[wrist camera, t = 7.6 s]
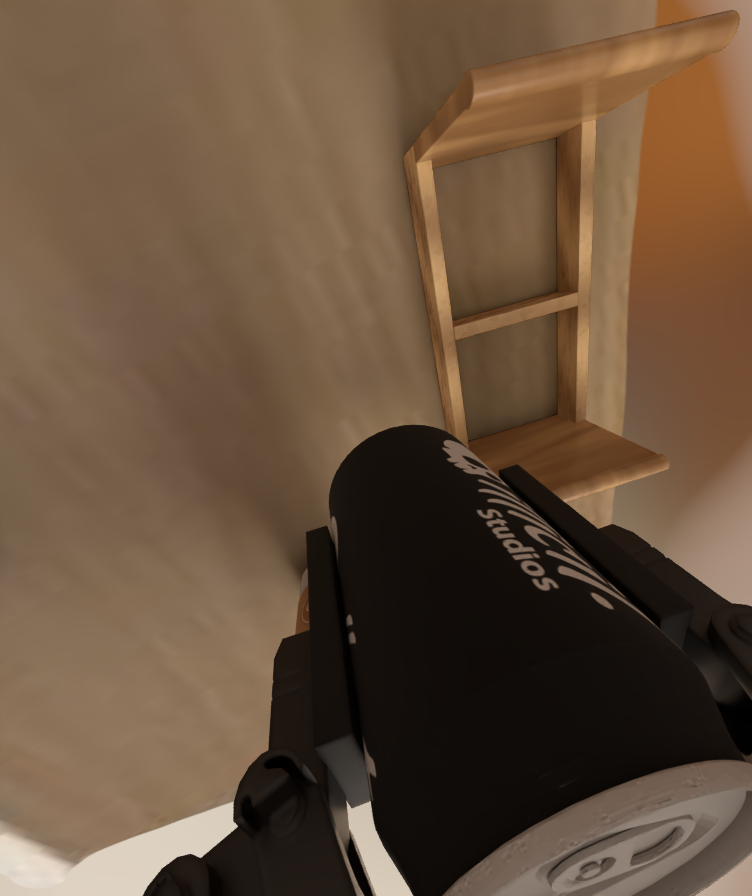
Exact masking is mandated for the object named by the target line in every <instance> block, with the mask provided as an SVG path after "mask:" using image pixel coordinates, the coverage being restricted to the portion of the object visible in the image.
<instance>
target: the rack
mask: <svg viewBox="0 0 752 896" xmlns="http://www.w3.org/2000/svg"><path fill="white" fill-rule="evenodd" d="M739 21H740V18H739V14H738V12H737V11H735V10H730V11H725V12H721V13H716V14H712V15H708V16H703V17H699V18H694V19H690V20H686V21H681V22H677V23H673V24H669V25H664V26H659V27H655V28H651V29H646V30H642V31H637V32H633V33H629V34H624V35H620V36H616V37H611V38H607V39H602V40H598V41H594V42H589V43H585V44H580V45H576V46H572V47H567V48H563V49H559V50H554V51H550V52H545V53H541V54H537V55H532V56H528V57H524V58H519V59H515V60H510V61H506V62H502V63H497V64H493V65H488V66H484V67H480V68H475V69H471V70H468V71H467V72H466V73H465V75H464V77H463V80H462V81H461V83H460V84H459V85H458V87H457V88H456V89H455V90H454V92H453V93H452V94H451V96H450V97H449V98H448V100H447V101H446V102H445V103H444V105H443V106H442V107H441V109H440V110H439V111H438V112H437V114H436V115H435V116H434V118H433V119H432V120H431V122H430V123H429V124H428V125H427V127H426V128H425V129H424V131H423V132H422V133H421V134H420V136H419V137H418V138H417V140H416V141H415V142H414V144H413V145H412V146H411V147H410V149H409V150H408V151H407V153H406V154H405V155H404V157H403V161H404V167H405V173H406V179H407V185H408V192H409V198H410V204H411V211H412V217H413V223H414V229H415V236H416V242H417V248H418V254H419V261H420V267H421V273H422V280H423V286H424V292H425V298H426V305H427V311H428V317H429V323H430V330H431V336H432V342H433V348H434V355H435V361H436V367H437V374H438V380H439V386H440V392H441V399H442V405H443V411H444V417H445V424H446V430H447V432H448V433H449V434H451V435H453V436H454V437H456V438H457V439H458V440H460V441H461V442H462V443H463V444H464V445H465V446H466V447H467V448H468V449H469V450H470V451H471V452H472V453H473V454H475V455H476V456H477V457H478V458H479V459H480V460H481V461H482V462H483V463H484V464H485V465H486V466H487V467H488V468H489V469H490V470H491V471H493V472H494V473H495V474H496V475H497V476H498V477H499V470H501V469H504V468H507V467H510V466H513V465H516V464H518V465H519V466H520V467H522V468H523V469H524V470H525V471H527V472H528V473H529V474H530V475H532V476H533V477H534V478H535V479H537V480H538V481H539V482H540V483H542V484H543V485H544V486H545V487H547V488H548V489H549V490H550V491H552V492H553V493H554V494H555V495H556V496H558V497H559V498H560V499H561V500H563V501H564V502H568V501H571V500H574V499H577V498H581V497H584V496H587V495H590V494H593V493H596V492H599V491H602V490H605V489H608V488H611V487H614V486H617V485H621V484H624V483H627V482H630V481H633V480H636V479H639V478H642V477H645V476H648V475H651V474H654V473H657V472H660V471H664V470H666V469H668V468H669V461H668V459H667V458H666V457H665V456H664V455H662V454H657V453H655V452H652V451H650V450H648V449H646V448H644V447H642V446H640V445H637V444H635V443H633V442H631V441H629V440H627V439H625V438H622V437H620V436H618V435H616V434H614V433H612V432H610V431H607V430H605V429H603V428H601V427H599V426H597V425H595V424H592V423H590V422H588V421H586V398H587V369H588V339H589V310H590V281H591V252H592V223H593V194H594V165H595V136H596V119H597V118H599V117H601V116H603V115H604V114H606V113H608V112H610V111H611V110H613V109H615V108H617V107H618V106H620V105H622V104H624V103H625V102H627V101H629V100H631V99H632V98H634V97H636V96H638V95H639V94H641V93H643V92H644V91H646V90H648V89H650V88H651V87H653V86H655V85H657V84H658V83H660V82H662V81H664V80H665V79H667V78H669V77H670V76H672V75H674V74H676V73H678V72H679V71H681V70H683V69H685V68H686V67H688V66H690V65H691V64H693V63H695V62H697V61H699V60H700V59H702V58H704V57H705V56H707V55H709V54H711V53H715V52H719V51H721V50H722V49H723V48H725V47H726V46H727V45H728V44H729V43H730V42H731V40H732V39H733V37H734V36H735V34H736V32H737V29H738V26H739ZM553 138H557V292H554V293H551V294H547V295H544V296H540V297H536V298H533V299H529V300H526V301H522V302H519V303H515V304H511V305H508V306H504V307H501V308H497V309H494V310H490V311H486V312H483V313H479V314H476V315H472V316H469V317H465V318H461V319H458V320H454V321H452V314H451V307H450V299H449V292H448V284H447V276H446V269H445V261H444V253H443V246H442V238H441V231H440V223H439V215H438V208H437V200H436V192H435V185H434V177H433V170H432V168H436V167H440V166H444V165H448V164H452V163H456V162H460V161H464V160H468V159H472V158H477V157H481V156H485V155H489V154H493V153H497V152H501V151H505V150H509V149H513V148H517V147H521V146H525V145H529V144H533V143H537V142H541V141H545V140H549V139H553ZM554 312H557V325H558V415H555V416H551V417H548V418H545V419H542V420H538V421H535V422H532V423H529V424H525V425H522V426H519V427H515V428H512V429H509V430H506V431H502V432H499V433H496V434H493V435H489V436H486V437H483V438H479V439H476V440H473V441H470V442H468V436H467V429H466V421H465V413H464V406H463V398H462V391H461V383H460V375H459V368H458V360H457V352H456V345H455V340H459V339H462V338H466V337H469V336H473V335H476V334H480V333H483V332H487V331H490V330H494V329H497V328H501V327H504V326H508V325H511V324H515V323H519V322H522V321H526V320H529V319H533V318H536V317H540V316H543V315H547V314H550V313H554Z"/></svg>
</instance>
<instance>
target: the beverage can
mask: <svg viewBox="0 0 752 896" xmlns="http://www.w3.org/2000/svg"><path fill="white" fill-rule="evenodd" d="M329 510H330V518H331V525H332V532H333V539H334V546H335V553H336V560H337V567H338V574H339V581H340V588H341V595H342V602H343V609H344V616H345V623H346V630H347V637H348V644H349V651H350V658H351V665H352V672H353V680H354V687H355V694H356V701H357V708H358V715H359V722H360V729H361V736H362V743H363V750H364V757H365V764H366V771H367V778H368V785H369V792H370V799H371V806H372V813H373V820H374V824H375V828H376V831H377V833H378V835H379V838H380V840H381V842H382V844H383V846H384V848H385V849H386V851H387V853H388V854H389V856H390V858H391V859H392V861H393V862H394V864H395V866H396V867H397V869H398V871H399V872H400V874H401V875H402V877H403V879H404V880H405V882H406V883H407V885H408V887H409V888H410V890H411V892H412V894H413V896H694V895H696V894H698V893H700V892H701V891H703V890H704V889H706V888H707V887H709V886H710V885H711V884H712V883H714V882H715V881H717V880H718V879H720V878H721V877H723V876H724V875H725V874H727V873H728V872H729V871H731V870H732V869H734V868H735V867H736V866H738V865H739V864H740V863H742V862H743V861H744V860H745V859H746V858H747V857H748V856H749V855H751V854H752V764H750V763H747V762H746V760H745V759H744V757H743V756H742V754H741V753H740V751H739V750H738V748H737V747H736V745H735V744H734V742H733V740H732V738H731V736H730V734H729V732H728V730H727V728H726V725H725V723H724V721H723V718H722V716H721V714H720V711H719V709H718V706H717V704H716V702H715V699H714V697H713V695H712V692H711V690H710V687H709V685H708V683H707V680H706V679H705V677H704V676H703V674H702V673H701V671H700V670H699V668H698V667H697V665H696V664H695V663H694V661H693V660H692V659H691V658H690V657H689V656H688V655H687V654H685V653H684V652H683V651H682V650H681V649H680V648H679V647H678V646H677V645H676V644H675V643H674V642H673V641H672V640H671V639H670V638H668V637H667V636H666V635H665V634H664V633H663V632H662V631H661V630H660V629H659V628H658V627H657V626H656V625H655V624H654V623H653V622H652V621H650V620H649V619H648V618H647V617H646V616H645V615H644V614H643V613H642V612H641V611H640V610H639V609H638V608H637V607H636V606H635V605H634V604H632V603H631V602H630V601H629V600H628V599H627V598H626V597H625V596H624V595H623V594H622V593H621V592H620V591H619V590H618V589H617V588H615V587H614V586H613V585H612V584H611V583H610V582H609V581H608V580H607V579H606V578H605V577H604V576H603V575H602V574H601V573H600V572H599V571H597V570H596V569H595V568H594V567H593V566H592V565H591V564H590V563H589V562H588V561H587V560H586V559H585V558H584V557H583V556H582V555H581V554H579V553H578V552H577V551H576V550H575V549H574V548H573V547H572V546H571V545H570V544H569V543H568V542H567V541H566V540H565V539H564V538H562V537H561V536H560V535H559V534H558V533H557V532H556V531H555V530H554V529H553V528H552V527H551V526H550V525H549V524H548V523H547V522H546V521H544V520H543V519H542V518H541V517H540V516H539V515H538V514H537V513H536V512H535V511H534V510H533V509H532V508H531V507H530V506H529V505H528V504H526V503H525V502H524V501H523V500H522V499H521V498H520V497H519V496H518V495H517V494H516V493H515V492H514V491H513V490H512V489H511V488H509V487H508V486H507V485H506V484H505V483H504V482H503V481H502V480H501V479H500V478H499V477H498V476H497V475H496V474H495V473H494V472H493V471H491V470H490V469H489V468H488V467H487V466H486V465H485V464H484V463H483V462H482V461H481V460H480V459H479V458H478V457H477V456H476V455H475V454H473V453H472V452H471V451H470V450H469V449H468V448H467V447H466V446H465V445H464V444H463V443H462V442H461V441H460V440H458V439H457V438H456V437H454V436H453V435H451V434H449V433H448V432H446V431H443V430H441V429H438V428H434V427H430V426H425V425H404V426H398V427H393V428H389V429H387V430H384V431H381V432H379V433H377V434H375V435H373V436H371V437H369V438H368V439H366V440H365V441H363V442H362V443H360V444H359V445H358V446H357V447H355V448H354V449H353V450H352V451H351V452H350V453H349V454H348V455H347V457H346V458H345V459H344V461H343V462H342V463H341V465H340V467H339V468H338V470H337V472H336V474H335V476H334V479H333V481H332V484H331V488H330V493H329Z"/></svg>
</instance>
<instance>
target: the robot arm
mask: <svg viewBox="0 0 752 896" xmlns="http://www.w3.org/2000/svg"><path fill="white" fill-rule="evenodd" d="M499 478H500V479H501V480H502V481H503V482H504V483H505V484H506V485H507V486H508V487H509V488H511V489H512V490H513V491H514V492H515V493H516V494H517V495H518V496H519V497H520V498H521V499H522V500H523V501H524V502H525V503H526V504H528V505H529V506H530V507H531V508H532V509H533V510H534V511H535V512H536V513H537V514H538V515H539V516H540V517H541V518H542V519H543V520H544V521H546V522H547V523H548V524H549V525H550V526H551V527H552V528H553V529H554V530H555V531H556V532H557V533H558V534H559V535H560V536H561V537H562V538H564V539H565V540H566V541H567V542H568V543H569V544H570V545H571V546H572V547H573V548H574V549H575V550H576V551H577V552H578V553H579V554H581V555H582V556H583V557H584V558H585V559H586V560H587V561H588V562H589V563H590V564H591V565H592V566H593V567H594V568H595V569H596V570H597V571H599V572H600V573H601V574H602V575H603V576H604V577H605V578H606V579H607V580H608V581H609V582H610V583H611V584H612V585H613V586H614V587H615V588H617V589H618V590H619V591H620V592H621V593H622V594H623V595H624V596H625V597H626V598H627V599H628V600H629V601H630V602H631V603H632V604H634V605H635V606H636V607H637V608H638V609H639V610H640V611H641V612H642V613H643V614H644V615H645V616H646V617H647V618H648V619H649V620H650V621H652V622H653V623H654V624H655V625H656V626H657V627H658V628H659V629H660V630H661V631H662V632H663V633H664V634H665V635H666V636H667V637H668V638H670V639H671V640H672V641H673V642H674V643H675V644H676V645H677V646H678V647H679V648H680V649H681V650H682V651H683V652H684V653H685V654H687V655H688V656H689V657H690V658H691V659H692V660H693V661H694V663H695V664H696V665H697V667H698V668H699V670H700V671H701V673H702V674H703V676H704V677H705V679H706V680H707V683H708V685H709V687H710V690H711V692H712V695H713V697H714V699H715V702H716V704H717V706H718V709H719V711H720V714H721V716H722V718H723V721H724V723H725V725H726V728H727V730H728V732H729V734H730V736H731V738H732V740H733V742H734V744H735V745H736V747H737V748H738V750H739V751H740V753H741V754H742V756H743V757H744V759H745V760H746V762H747V763H750V764H752V607H751V606H748V605H742V604H732V603H730V602H729V601H727V600H726V599H724V598H722V597H721V596H720V595H718V594H717V593H716V592H714V591H713V590H711V589H710V588H709V587H707V586H706V585H705V584H703V583H702V582H700V581H699V580H698V579H696V578H695V577H694V576H692V575H691V574H690V573H688V572H687V571H685V570H684V569H683V568H681V567H680V566H679V565H677V564H676V563H674V562H673V561H672V560H670V559H669V558H666V557H665V556H664V555H663V554H662V553H661V552H659V551H658V550H657V549H655V548H654V547H653V548H652V547H651V546H650V544H648V543H647V542H646V541H644V540H643V539H641V538H640V537H639V536H638V535H636V534H635V533H633V532H631V531H629V530H626V529H624V528H621V527H619V526H616V525H613V524H611V525H608V526H605V527H603V528H600V529H597V528H596V527H595V526H594V525H592V524H591V523H590V522H589V521H588V520H586V519H585V518H584V517H583V516H581V515H580V514H579V513H578V512H576V511H575V510H574V509H573V508H571V507H570V506H569V505H568V504H566V503H565V502H564V501H563V500H561V499H560V498H559V497H558V496H556V495H555V494H554V493H553V492H552V491H550V490H549V489H548V488H547V487H545V486H544V485H543V484H542V483H540V482H539V481H538V480H537V479H535V478H534V477H533V476H532V475H530V474H529V473H528V472H527V471H525V470H524V469H523V468H522V467H520V466H519V465H518V464H516V465H513V466H510V467H507V468H504V469H501V470H499ZM306 542H307V571H308V600H309V629H310V630H307V631H304V632H301V633H298V634H296V635H293V636H290V637H287V638H284V639H282V641H281V644H280V646H279V649H278V651H277V653H276V656H275V658H274V670H273V681H274V683H273V686H272V702H271V718H270V733H269V749H268V751H266V752H264V753H263V754H261V755H260V756H259V757H258V758H257V759H256V760H255V761H254V762H253V763H252V764H251V765H250V766H249V768H248V769H247V771H246V773H245V775H244V776H243V778H242V780H241V781H240V783H239V786H238V790H237V793H236V796H235V800H234V814H233V815H234V817H233V820H234V822H235V823H236V824H237V825H238V827H237V828H236V829H235V830H234V831H233V832H231V833H230V834H229V835H228V836H227V837H225V838H224V839H223V840H222V841H221V842H220V843H218V844H217V845H216V846H215V847H213V848H212V849H211V850H210V851H209V852H208V853H206V854H205V855H204V856H203V857H202V858H199V857H196V856H195V855H192V854H188V855H185V856H180V857H177V858H176V859H174V860H173V861H172V862H170V863H169V864H168V865H166V866H165V867H164V868H162V869H161V871H160V872H159V873H158V874H157V876H156V877H155V878H154V879H153V881H152V882H151V883H150V884H149V886H148V887H147V889H146V891H145V892H144V895H143V896H376V894H375V892H374V889H373V886H372V884H371V881H370V878H369V876H368V873H367V870H366V868H365V865H364V862H363V860H362V857H361V854H360V852H359V849H358V847H357V844H356V841H355V839H354V836H353V834H352V833H351V831H350V829H349V824H348V813H347V803H346V800H347V802H348V803H349V805H350V806H351V808H354V807H356V806H359V805H362V804H364V803H367V802H369V801H371V799H370V792H369V785H368V778H367V771H366V764H365V757H364V750H363V743H362V736H361V729H360V722H359V715H358V708H357V701H356V694H355V687H354V680H353V672H352V665H351V658H350V651H349V644H348V637H347V630H346V623H345V616H344V609H343V602H342V595H341V588H340V581H339V574H338V567H337V560H336V553H335V546H334V543H333V540H332V538H331V535H330V533H329V530H328V527H327V526H324V527H321V528H318V529H315V530H312V531H309V532H306Z"/></svg>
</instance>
